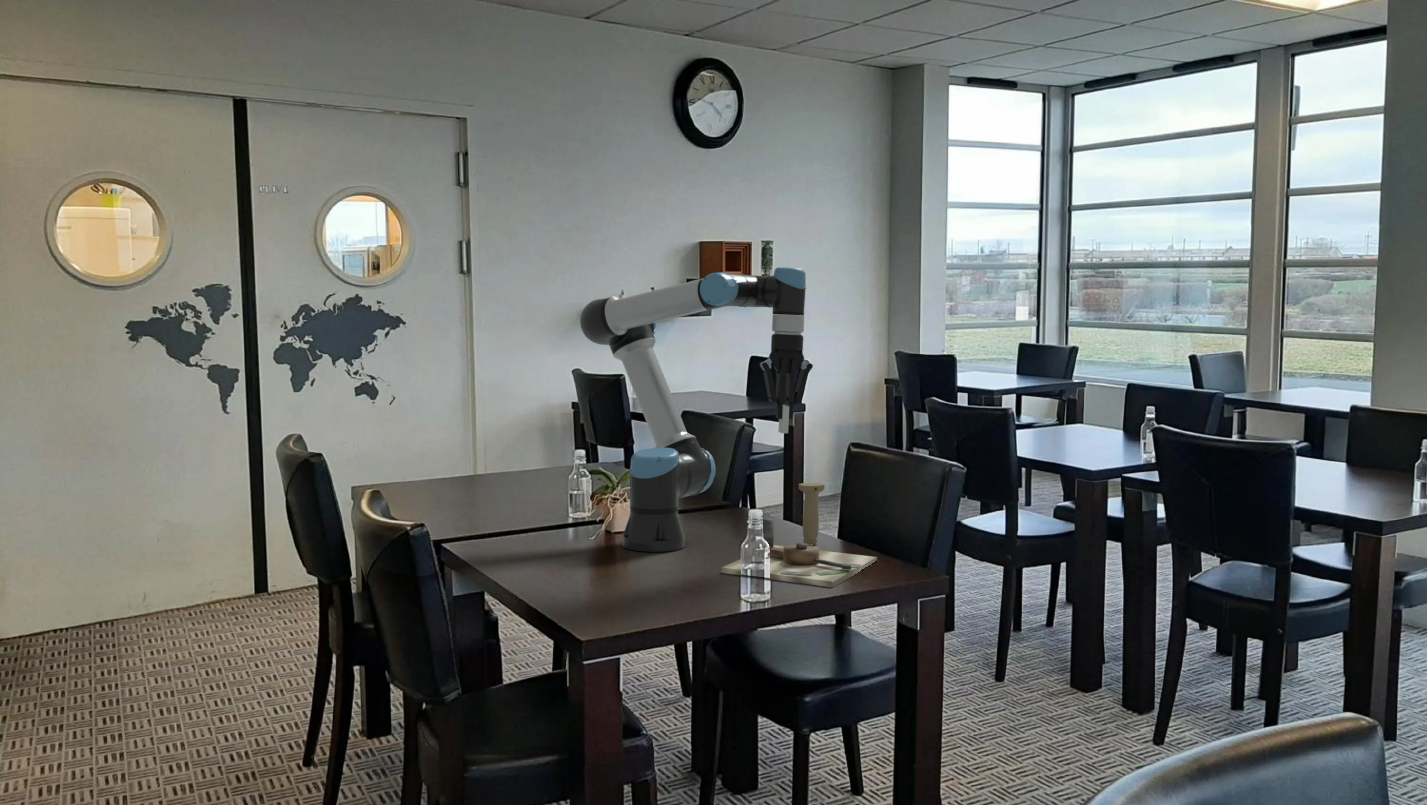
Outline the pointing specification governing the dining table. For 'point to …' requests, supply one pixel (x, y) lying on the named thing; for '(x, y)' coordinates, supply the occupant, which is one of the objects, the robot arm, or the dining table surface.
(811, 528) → the handle
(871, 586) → the dining table surface
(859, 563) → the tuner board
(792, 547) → the brown handled round piece
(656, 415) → the robot arm
